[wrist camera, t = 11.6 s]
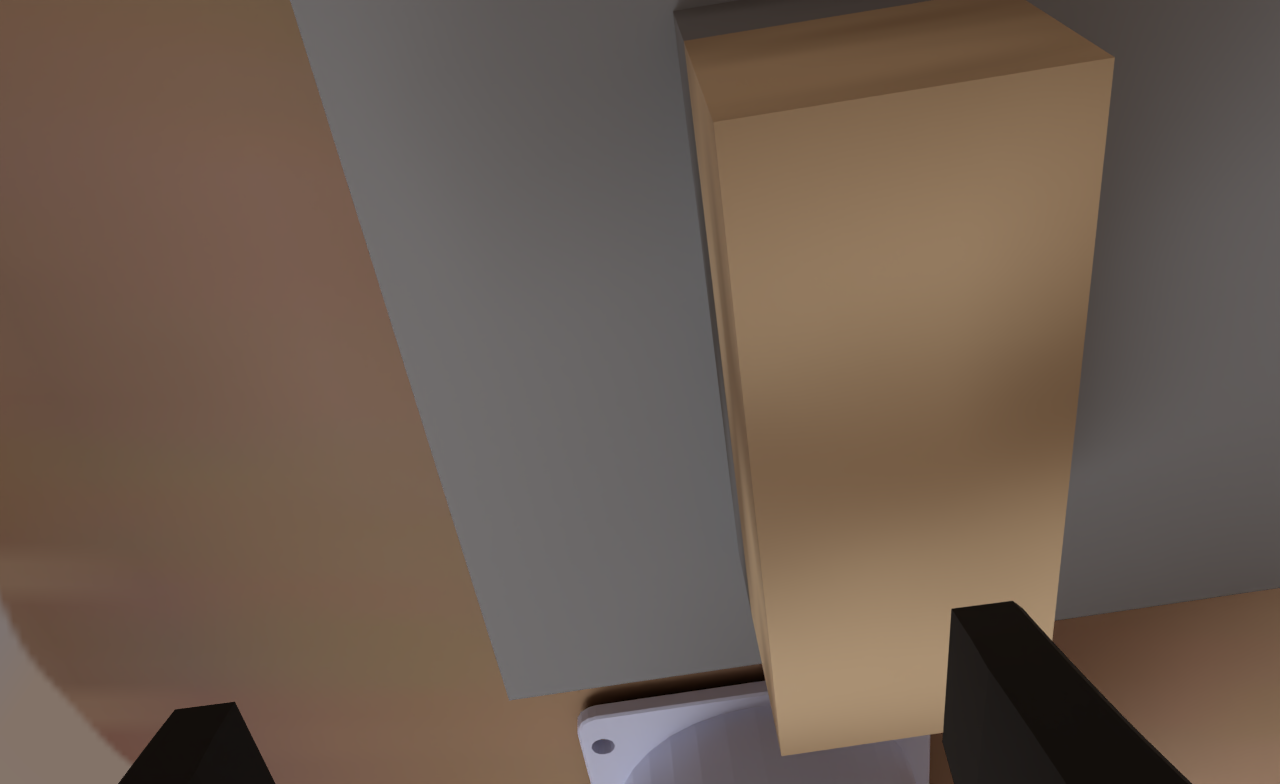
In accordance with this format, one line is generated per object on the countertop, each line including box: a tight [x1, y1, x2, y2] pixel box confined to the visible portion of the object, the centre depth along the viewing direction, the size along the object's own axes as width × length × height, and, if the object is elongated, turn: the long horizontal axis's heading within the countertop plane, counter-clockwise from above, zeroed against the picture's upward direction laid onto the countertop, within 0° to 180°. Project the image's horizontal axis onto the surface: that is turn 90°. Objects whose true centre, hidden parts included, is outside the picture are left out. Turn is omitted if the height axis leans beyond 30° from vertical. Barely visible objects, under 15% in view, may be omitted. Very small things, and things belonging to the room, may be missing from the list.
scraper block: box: [673, 0, 1115, 756], centre depth 15 cm, size 10×4×4 cm, turn 8°
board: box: [290, 0, 1280, 700], centre depth 17 cm, size 16×28×2 cm, turn 98°
